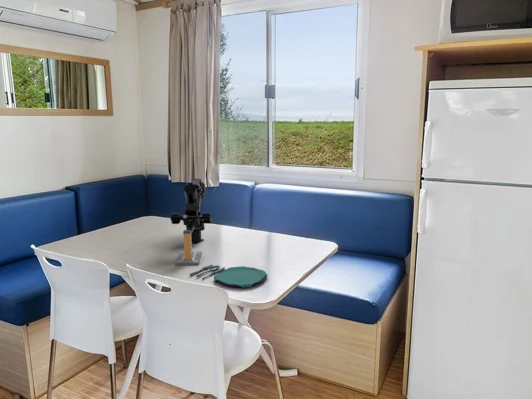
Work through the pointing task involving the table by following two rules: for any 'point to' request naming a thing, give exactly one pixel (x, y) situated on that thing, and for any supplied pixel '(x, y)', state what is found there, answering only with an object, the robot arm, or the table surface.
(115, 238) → the table surface
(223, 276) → the cutlery set
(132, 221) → the table surface
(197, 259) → the board
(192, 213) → the robot arm
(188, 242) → the tan wooden bar
